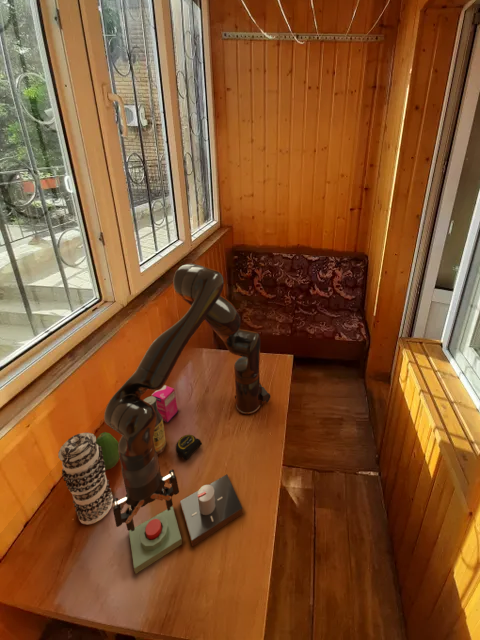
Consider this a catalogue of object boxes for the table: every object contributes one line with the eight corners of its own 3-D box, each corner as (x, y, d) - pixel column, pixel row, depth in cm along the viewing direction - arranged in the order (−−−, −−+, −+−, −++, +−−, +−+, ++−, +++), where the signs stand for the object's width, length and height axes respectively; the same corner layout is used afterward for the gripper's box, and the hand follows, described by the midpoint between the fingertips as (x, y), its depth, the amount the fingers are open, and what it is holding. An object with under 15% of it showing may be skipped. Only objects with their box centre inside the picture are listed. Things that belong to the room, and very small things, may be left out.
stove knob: (212, 494, 88) (211, 480, 86) (217, 509, 84) (216, 495, 82) (197, 503, 86) (195, 488, 84) (201, 518, 82) (199, 504, 80)
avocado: (119, 448, 104) (113, 421, 100) (125, 466, 98) (119, 438, 94) (92, 463, 99) (84, 435, 95) (96, 482, 93) (88, 454, 89)
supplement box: (155, 418, 115) (150, 394, 111) (166, 406, 120) (162, 383, 116) (167, 423, 113) (163, 399, 109) (178, 411, 118) (175, 387, 114)
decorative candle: (119, 507, 87) (102, 441, 78) (81, 534, 81) (59, 467, 72) (108, 483, 93) (92, 420, 84) (72, 507, 87) (50, 442, 78)
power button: (160, 520, 81) (159, 515, 80) (163, 533, 78) (162, 529, 78) (145, 528, 79) (144, 524, 79) (147, 543, 76) (146, 538, 76)
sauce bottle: (159, 458, 100) (151, 411, 94) (142, 455, 102) (132, 408, 95) (170, 441, 106) (163, 395, 100) (154, 437, 108) (146, 392, 101)
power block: (173, 511, 86) (171, 501, 85) (182, 544, 79) (180, 534, 78) (130, 536, 81) (127, 526, 79) (135, 574, 74) (132, 564, 72)
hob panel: (227, 479, 94) (227, 473, 94) (242, 513, 86) (242, 507, 85) (180, 506, 87) (179, 500, 86) (192, 547, 79) (191, 540, 78)
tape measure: (186, 464, 99) (185, 456, 97) (172, 453, 102) (171, 445, 101) (202, 448, 104) (201, 439, 103) (188, 437, 108) (187, 429, 106)
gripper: (107, 503, 64) (120, 551, 70) (177, 467, 72) (184, 513, 77) (104, 473, 70) (117, 520, 76) (169, 442, 78) (176, 487, 83)
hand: (151, 516), depth 77 cm, fingers open, 8 cm apart
